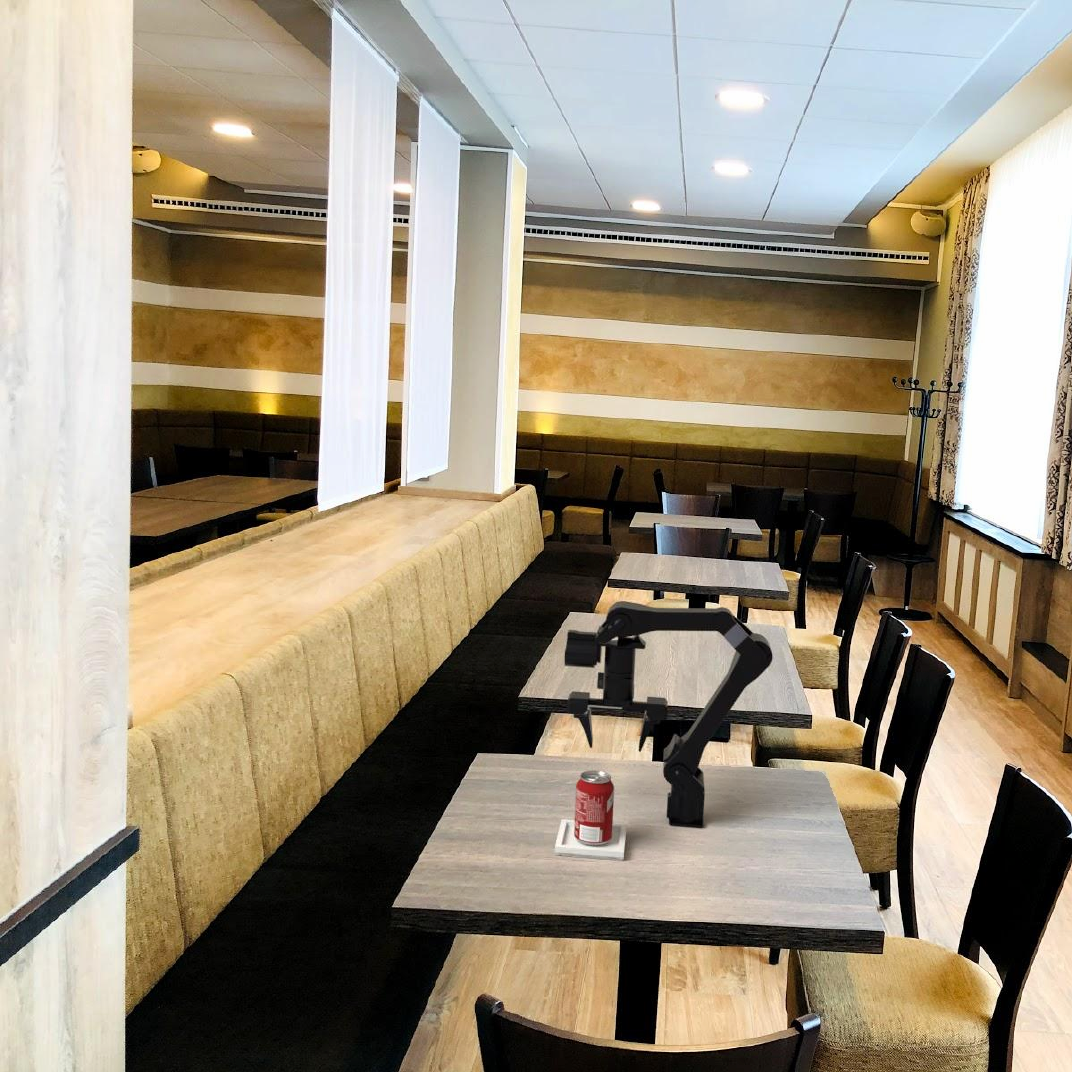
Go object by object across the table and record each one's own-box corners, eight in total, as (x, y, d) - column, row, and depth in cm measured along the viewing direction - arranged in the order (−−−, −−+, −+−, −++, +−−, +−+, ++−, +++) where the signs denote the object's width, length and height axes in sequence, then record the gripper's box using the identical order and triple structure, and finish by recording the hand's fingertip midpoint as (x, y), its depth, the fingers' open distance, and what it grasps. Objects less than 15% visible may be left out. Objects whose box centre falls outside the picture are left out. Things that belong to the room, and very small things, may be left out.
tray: (626, 832, 203) (626, 824, 203) (623, 861, 191) (623, 852, 191) (561, 827, 205) (561, 819, 204) (554, 855, 193) (554, 846, 192)
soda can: (601, 851, 194) (604, 786, 192) (567, 842, 197) (569, 777, 195) (618, 837, 199) (621, 774, 198) (584, 829, 203) (587, 766, 201)
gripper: (669, 661, 214) (665, 739, 216) (573, 655, 216) (570, 731, 218) (669, 677, 203) (664, 758, 205) (568, 670, 205) (564, 750, 207)
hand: (615, 749), depth 209 cm, fingers open, 9 cm apart
